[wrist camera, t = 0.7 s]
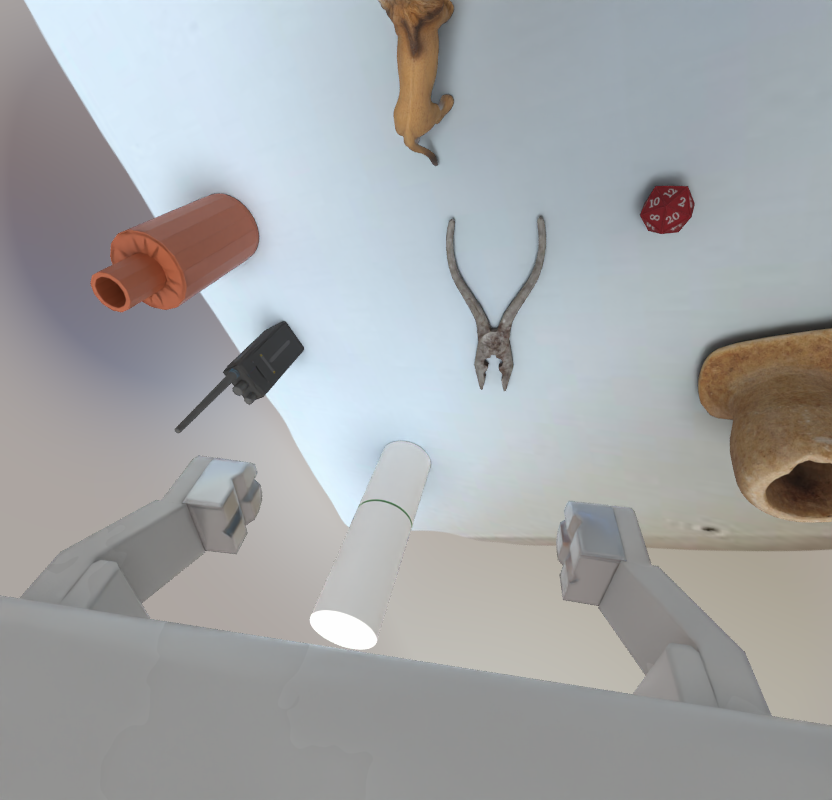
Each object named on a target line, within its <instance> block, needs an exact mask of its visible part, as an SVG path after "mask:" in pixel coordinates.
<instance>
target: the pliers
mask: <svg viewBox="0 0 832 800" xmlns="http://www.w3.org/2000/svg"><path fill="white" fill-rule="evenodd" d="M537 223H538V234H539V248H538V254H537V259H536V263H535V266H534V268H533V271H532V273H531V275H530V277H529V278H528V280H527V282H526V283H525V285H524V286H523V288H522V289H521V290H520V292H519V293H518V295H517V296H516V297H515V299H514V300H513V301H512V302H511V304H510V305H509V307H508V308H507V310H506V311H505V313H504V315H503V317H502V319H501V322H500V324H499V327H498V328H491V326H490V324H489V322H488V320H487V317H486V315H485V313H484V311H483V309H482V308H481V306H480V305H479V303H478V302H477V300H476V299H475V297H474V296H473V295H472V293H471V292H470V290H469V289H468V287H467V285H466V284H465V282H464V281H463V279H462V277H461V275H460V273H459V271H458V268H457V266H456V261H455V257H454V249H453V235H454V226H455V221H454V219H451V220H450V221H449V224H448V228H447V236H446V250H447V259H448V265H449V269H450V272H451V275H452V278H453V280H454V282H455V284H456V286H457V288H458V290H459V291H460V293H461V295H462V296H463V298H464V300H465V301H466V303H467V305H468V306H469V308H470V310H471V312H472V314H473V316H474V318H475V320H476V324H477V333H478V341H479V342H478V347H477V352H476V358H475V364H474V365H475V369H476V373H477V378H478V382H479V386H480V389H481V390H482V389H483V385H484V381H485V376H486V375H485V372H486V370H487V368H488V364H489V363H488V362H486V361H485V359H486V358H490V356H491V355H496V358H499V359H501V360H502V361H503V362H502V363H500V364H499V371H500V372H501V373H502V385H503V389H504V391H506V389H507V385H508V382H509V379H510V375H511V372H512V369H513V360H512V352H511V346H510V340H509V337H510V331H511V325H512V322H513V320H514V318H515V316H516V314H517V312H518V311H519V309H520V307H521V306H522V304H523V303H524V301H525V300H526V298H527V296H528V295H529V293H530V292H531V290H532V289H533V287H534V285H535V283H536V282H537V280H538V278H539V275H540V272H541V269H542V266H543V261H544V256H545V248H546V232H545V224H544V219H543V218H542V217H541V216H540V217H539V218H538V219H537Z"/></svg>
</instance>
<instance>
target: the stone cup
mask: <svg viewBox="0 0 832 800" xmlns="http://www.w3.org/2000/svg"><path fill="white" fill-rule="evenodd" d="M698 392H699V398H700V401H701V404H702V405H703V406H704V408H705V409H706V410H707V412H708V413H709V414H710V415H712V416H714V417H717V418H722V419H732V420H733V425H732V430H731V436H730V455H731V460H732V465H733V470H734V474H735V478H736V482H737V485H738V487H739V489H740V491H741V493H742V494H743V495H744V496H745V497H746V499H747V500H748V501H749V502H750V503H751V504H753V505H754V506H755V507H757V508H758V509H760V510H761V511H763V512H765V513H767V514H770V515H772V516H774V517H777V518H781V519H785V520H789V521H796V522H832V328H830V329H822V330H813V331H806V332H799V333H791V334H784V335H778V336H772V337H766V338H760V339H755V340H749V341H744V342H739V343H734V344H731V345H728V346H725V347H722V348H719V349H717V350H715V351H714V352H712V353H711V354H710V355H709V356H708V357H707V358H706V360H705V361H704V363H703V366H702V368H701V371H700V374H699V379H698Z"/></svg>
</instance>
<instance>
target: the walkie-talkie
mask: <svg viewBox="0 0 832 800" xmlns="http://www.w3.org/2000/svg"><path fill="white" fill-rule="evenodd" d="M303 350H304V347H303V346H302V344H301V343H300V341H299V340H298V339H297V337H296V336H295V334H294V333H293V332H292V330H291V329H290V327H289V326H288V324H287V323H286V322H281V323H279V324H277V325H275V326H273V327H271V328H269V329H267V330H265V331H264V332H263V333H262V334H261V335H260V336H259V337H258V338H257V339H256V340H254V341H253V342H252V343H251V344H250V345H249V346H248V347H247V348H246V349H245V350H244V351H243V352H242V353H241V354H240V355H239V356H238V357H237V358H236V359H235V360H234V361H232V362H231V363H230V364H229V365H228V366H227V368H226V369H225V370H224V372H223V373H224V374H225V375H226V377H225V378H224V379H223V380H222V381H221V382H220V383H219V384H218V385H217V386H216V387H215V388H214V389H213V390H212V391H211V392H210V393H209V394H208V395H207V396H206V398H205V399H204V400H203V401H202V402H201V403H200V404H199V405H198V406H197V407H196V408H195V409H194V410H193V411H192V412H191V413H190V414H189V415H188V416H187V417H186V418H185V419H184V420H183V421H182V422H181V423H180V424H179V425H178V426H177V427H176V428H175V432H176V433H180V432H181V431H182V430H183V429H184V428H185V427H187V426H188V425H189V424H190V423H191V422H192V421H193V420H194V419H195V418H196V417H197V416H198V415H199V414H200V413H201V412H202V411H203V410H204V409H205V408H206V407H207V406H208V405H209V404H210V403H211V402H212V401H213V400H214V399H215V398H216V397H217V396H218V395H219V394H220V393H222V391H224V389H226V388H227V387H228V386H229V385H230V384H231V383H232V384H233V385H234V387H233V392H234V393H235V394H236V395H238V396H240V395H242V396H243V397H244V401H245V402H246V403H247V404H249V405H250V404H252V403H253V402H254V400H256V399H259V398H262V397H264V396H265V394H266V393H267V392H268V391H269V390H270V389H271V388H272V386H273V385H274V384H275V383H276V382H277V381H278V379H279V378H280V377H281V376H282V375H283V374H284V372H285V371H286V370H287V369H288V368H289V367H290V366H291V364H292V363H293V362H294V361H295V360H296V359H297V357H298V356H299V355H300V354H301V353H302V351H303Z"/></svg>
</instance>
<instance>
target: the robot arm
mask: <svg viewBox="0 0 832 800" xmlns="http://www.w3.org/2000/svg"><path fill="white" fill-rule="evenodd" d="M256 475H257V470H256V466H255V464H253V463H248V462H241V461H235V460H229V459H221V458H213V457H206V456H197V457H195V458H193V459H192V461H191V462H190V463H189V464H188V466H187V467H186V468H185V470H184V471H183V473H182V474H181V475H180V476H179V478H178V479H177V480H176V482H175V483H174V484H173V486H172V487H171V488H170V489H169V491H168V492H167V493H166V495H165V496H164V497H163V499H162V500H161V501H159V500H155V501H153V502H151V503H149V504H148V505H146V506H144V507H142V508H140V509H138V510H137V511H135V512H133V513H131V514H129V515H127V516H125V517H124V518H122V519H120V520H118V521H116V522H115V523H113V524H111V525H109V526H107V527H105V528H104V529H102V530H100V531H98V532H96V533H94V534H92V535H91V536H89V537H87V538H85V539H83V540H81V541H80V542H78V543H76V544H74V545H73V546H70V547H69V548H67V549H65V550H63V551H61V552H60V553H59V554H58V555H57V556H56V557H55V559H54V560H53V561H52V562H51V563H50V564H49V565H48V566H47V568H46V569H45V570H44V571H43V572H42V573H41V574H40V576H39V577H38V578H37V579H36V580H35V581H34V582H33V583H32V585H31V586H30V587H29V588H28V589H27V590H26V591H25V593H24V594H23V595H22V596H21V597H20V598H14V597H7V596H1V595H0V800H832V725H826V724H820V723H813V722H806V721H800V720H794V719H787V718H780V717H775V716H772V715H771V713H770V711H769V708H768V706H767V704H766V701H765V699H764V697H763V694H762V692H761V689H760V687H759V685H758V682H757V680H756V677H755V675H754V673H753V670H752V668H751V666H750V663H749V661H748V658H747V656H746V654H745V652H744V651H743V650H742V649H741V648H740V647H739V646H738V645H737V644H736V643H735V642H734V641H733V640H732V639H731V638H730V637H729V636H728V635H727V634H726V633H725V632H724V631H723V630H722V629H721V628H720V627H719V626H718V625H717V624H716V623H715V622H714V621H713V620H712V619H711V618H710V617H709V616H708V615H707V614H706V613H705V612H704V611H703V610H702V609H701V608H700V607H699V606H698V605H697V604H696V603H695V602H694V601H693V600H692V599H691V598H690V597H689V596H688V595H687V594H686V593H685V592H684V591H683V590H682V589H681V588H680V587H679V586H677V584H676V583H674V581H673V580H672V579H670V577H668V576H667V574H665V572H663V571H662V569H661V568H659V567H658V566H654V565H651V561H650V559H649V555H648V552H647V549H646V546H645V543H644V539H643V536H642V533H641V530H640V527H639V524H638V520H637V517H636V514H635V511H634V510H633V509H632V508H628V507H619V506H609V505H602V504H593V503H584V502H575V501H568V503H567V504H566V507H565V510H564V513H565V520H564V521H562V522H560V525H559V529H558V533H557V557H558V560H559V562H560V563H561V564H562V565H563V567H562V570H561V573H560V581H561V589H562V597H563V600H566V601H572V602H578V603H584V604H590V605H596V606H599V607H598V608H599V609H600V611H601V612H602V614H603V615H604V617H605V618H606V619H607V621H608V622H609V624H610V625H611V627H612V628H613V630H614V631H615V632H616V634H617V635H618V637H619V638H620V640H621V641H622V642H623V644H624V645H625V647H626V648H627V649H628V651H629V652H630V654H631V655H632V657H633V658H634V660H635V661H636V663H637V664H638V665H639V667H640V668H641V670H642V671H643V673H644V674H645V676H646V677H645V678H644V679H643V681H642V682H641V683H640V685H639V686H638V688H637V689H636V690H635V692H634V693H633V694H628V693H621V692H615V691H608V690H601V689H596V688H588V687H583V686H576V685H570V684H563V683H557V682H551V681H544V680H538V679H531V678H525V677H519V676H512V675H506V674H499V673H493V672H487V671H480V670H474V669H467V668H461V667H455V666H448V665H442V664H436V663H429V662H423V661H417V660H410V659H404V658H397V657H390V656H384V655H378V654H371V653H365V652H359V651H352V650H346V649H339V648H333V647H327V646H320V645H314V644H307V643H301V642H294V641H288V640H281V639H275V638H268V637H262V636H255V635H249V634H243V633H237V632H230V631H224V630H218V629H211V628H204V627H198V626H192V625H185V624H179V623H173V622H166V621H160V620H154V619H150V617H149V615H148V613H147V611H146V610H145V609H144V607H143V605H142V603H143V602H144V601H145V600H146V599H148V598H149V597H150V596H151V595H153V594H154V593H155V592H156V591H158V590H159V589H160V588H161V587H163V586H164V585H165V584H166V583H168V582H169V581H170V580H171V579H173V578H174V577H175V576H176V575H178V574H179V573H180V572H181V571H183V570H184V569H185V568H186V567H188V566H189V565H190V564H192V563H193V562H194V561H195V560H196V559H198V558H199V557H200V556H202V555H203V554H204V553H205V551H213V552H221V553H230V554H237V552H238V550H239V549H240V547H241V545H242V543H243V541H244V539H245V537H246V535H247V529H246V525H247V524H249V523H250V522H252V521H253V520H255V517H256V516H257V514H258V512H259V509H260V505H261V501H262V490H261V485H260V484H259V483H258V482H257V481H256V480H255V479H254V478H255V477H256Z"/></svg>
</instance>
